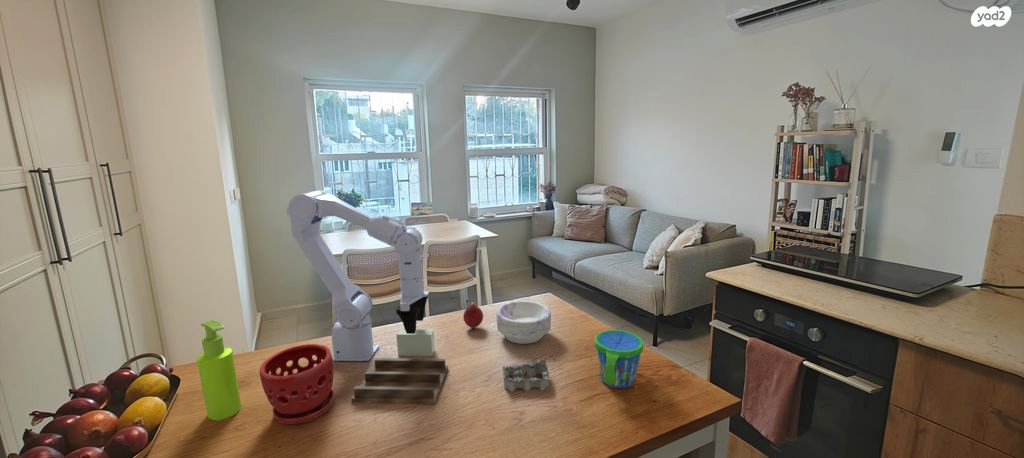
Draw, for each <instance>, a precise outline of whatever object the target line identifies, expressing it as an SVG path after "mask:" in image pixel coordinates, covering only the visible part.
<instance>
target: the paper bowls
mask: <svg viewBox="0 0 1024 458" xmlns="http://www.w3.org/2000/svg"><path fill="white" fill-rule="evenodd" d="M551 324H552V312H551V309H550V308H549V307H548V306H546V305H544V304H543V303H540V302H536V301H530V300H515V301H510V302H507V303H504V304H502V305H500V306H498V308H497V310H496V328H497V331H498V332H499V333H501V335H503V336H505V338H506V340H508V341H509V342H512V343H515V344H518V345H519V344H520V345H528V344H533V343H536V342H538V341H539V340H541V338H542V337H543V336H544V335H546V334H547V333H549V331H550V330H551V326H552V325H551Z"/></svg>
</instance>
